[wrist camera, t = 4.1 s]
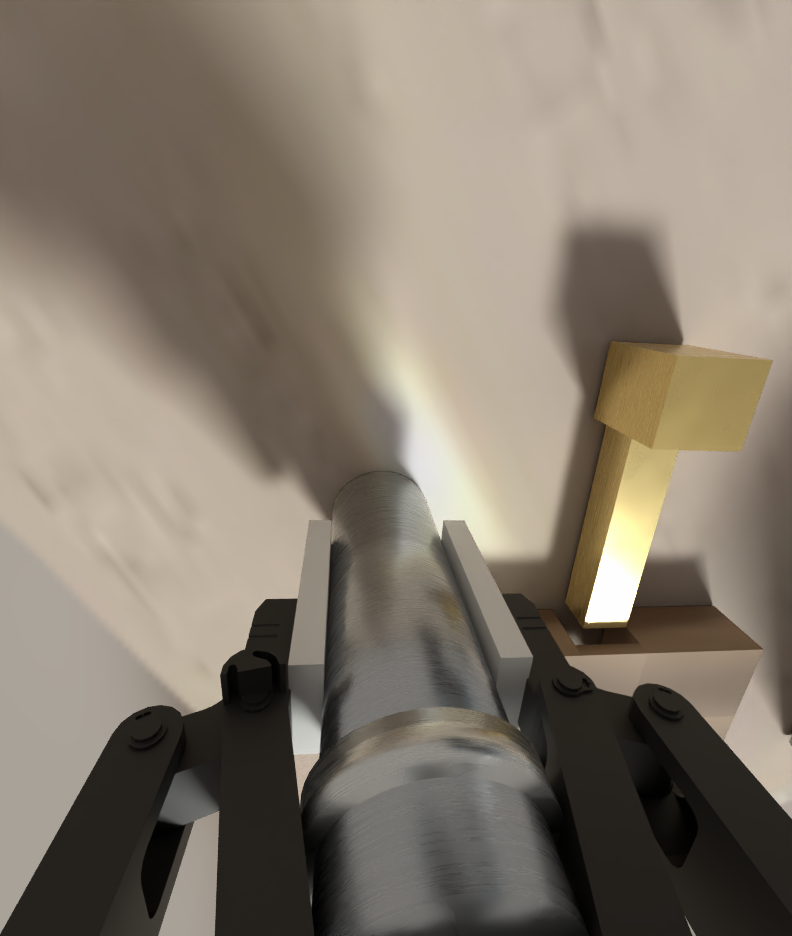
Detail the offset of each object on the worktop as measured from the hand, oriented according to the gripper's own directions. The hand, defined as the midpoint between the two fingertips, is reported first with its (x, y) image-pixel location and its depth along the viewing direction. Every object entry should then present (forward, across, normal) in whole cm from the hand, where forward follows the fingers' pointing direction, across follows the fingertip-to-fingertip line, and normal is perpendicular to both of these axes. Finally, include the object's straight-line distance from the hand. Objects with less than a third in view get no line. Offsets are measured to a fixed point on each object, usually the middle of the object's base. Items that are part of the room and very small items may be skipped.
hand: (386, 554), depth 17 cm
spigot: (+3, 0, 0) cm, 3 cm away
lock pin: (+3, +10, +2) cm, 11 cm away
